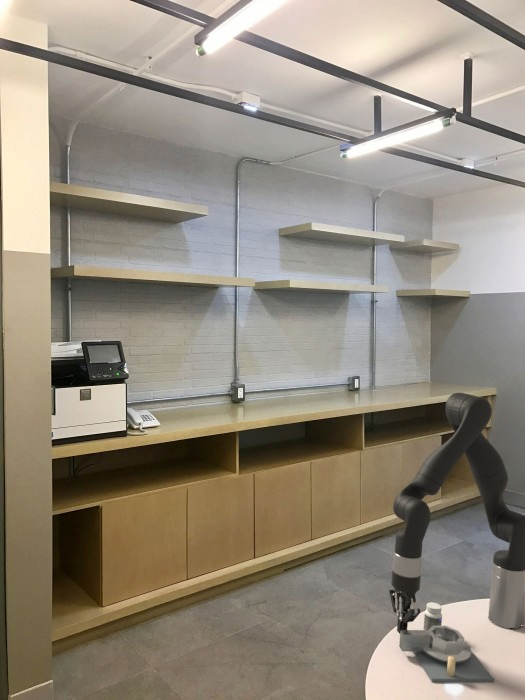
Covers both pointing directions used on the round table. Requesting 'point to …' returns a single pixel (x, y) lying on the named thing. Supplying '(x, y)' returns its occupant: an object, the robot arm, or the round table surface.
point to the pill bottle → (432, 616)
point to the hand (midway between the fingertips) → (401, 632)
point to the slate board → (460, 669)
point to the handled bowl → (436, 643)
